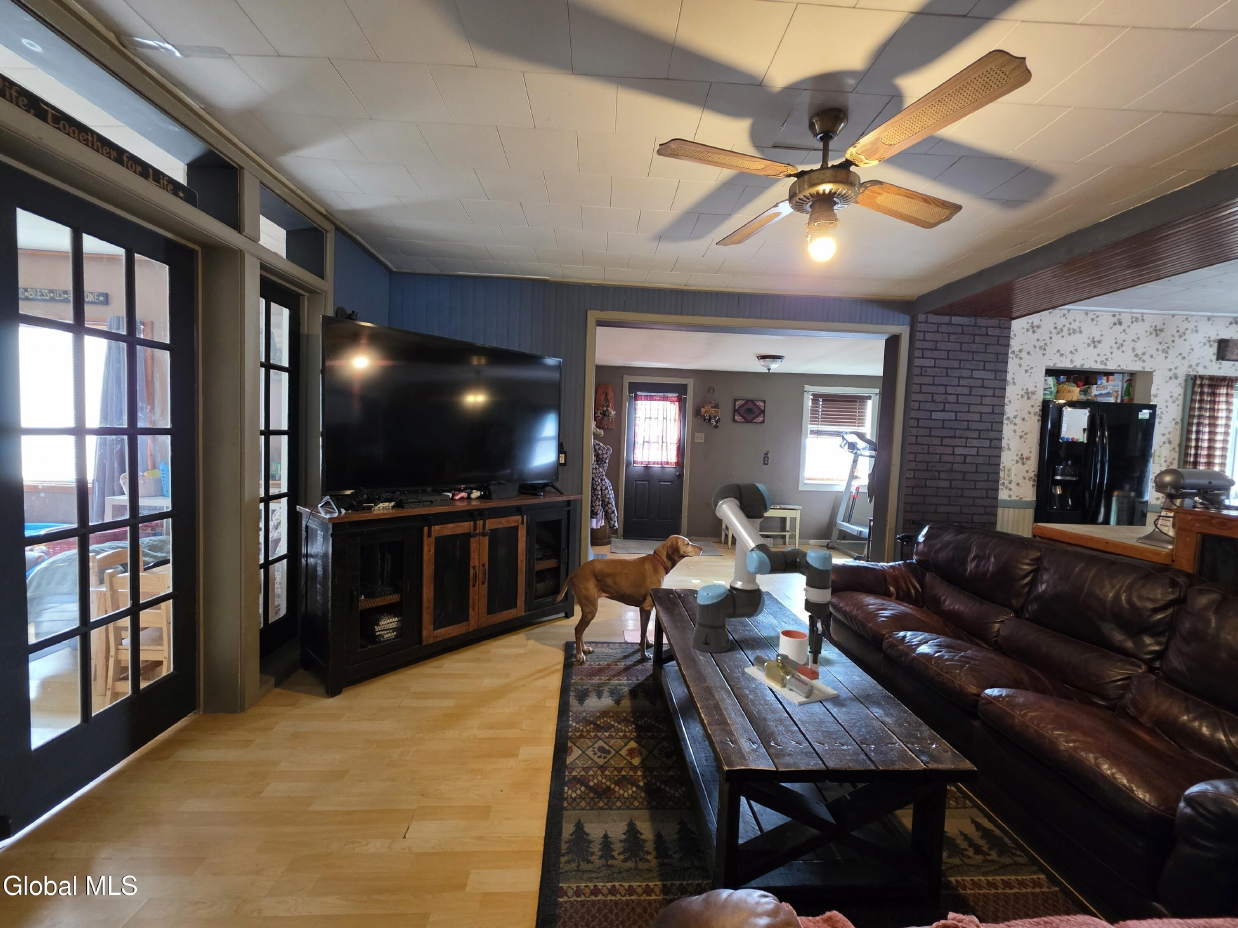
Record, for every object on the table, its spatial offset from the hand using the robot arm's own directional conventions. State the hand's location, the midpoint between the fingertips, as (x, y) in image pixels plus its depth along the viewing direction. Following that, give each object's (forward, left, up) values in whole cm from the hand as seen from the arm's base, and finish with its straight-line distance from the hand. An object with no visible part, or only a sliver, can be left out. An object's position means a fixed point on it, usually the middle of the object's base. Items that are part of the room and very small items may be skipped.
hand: (813, 672), depth 169 cm
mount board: (-11, 0, -8) cm, 13 cm away
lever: (-4, -3, 0) cm, 5 cm away
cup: (-25, +15, -8) cm, 30 cm away
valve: (-11, -3, -8) cm, 14 cm away
